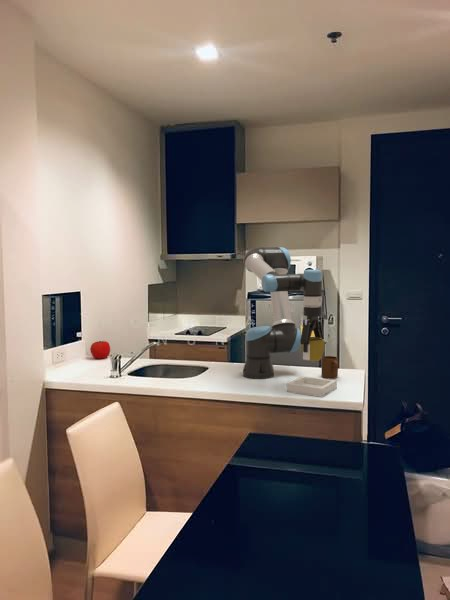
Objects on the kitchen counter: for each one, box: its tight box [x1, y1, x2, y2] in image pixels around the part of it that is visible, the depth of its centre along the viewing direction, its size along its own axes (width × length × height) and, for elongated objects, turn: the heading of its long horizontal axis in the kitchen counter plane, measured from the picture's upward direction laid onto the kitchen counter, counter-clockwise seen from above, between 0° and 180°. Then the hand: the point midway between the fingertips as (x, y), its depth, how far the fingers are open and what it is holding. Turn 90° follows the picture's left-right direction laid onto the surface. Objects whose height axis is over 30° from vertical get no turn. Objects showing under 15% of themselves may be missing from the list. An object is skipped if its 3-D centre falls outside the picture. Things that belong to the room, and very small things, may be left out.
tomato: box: [89, 340, 111, 360], centre depth 289 cm, size 11×13×10 cm
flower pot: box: [300, 337, 326, 362], centre depth 214 cm, size 9×9×9 cm
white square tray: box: [286, 375, 338, 398], centre depth 216 cm, size 16×16×4 cm
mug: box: [321, 355, 339, 380], centre depth 237 cm, size 12×8×9 cm, turn 13°
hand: (312, 357), depth 215 cm, fingers closed on flower pot, 11 cm apart
